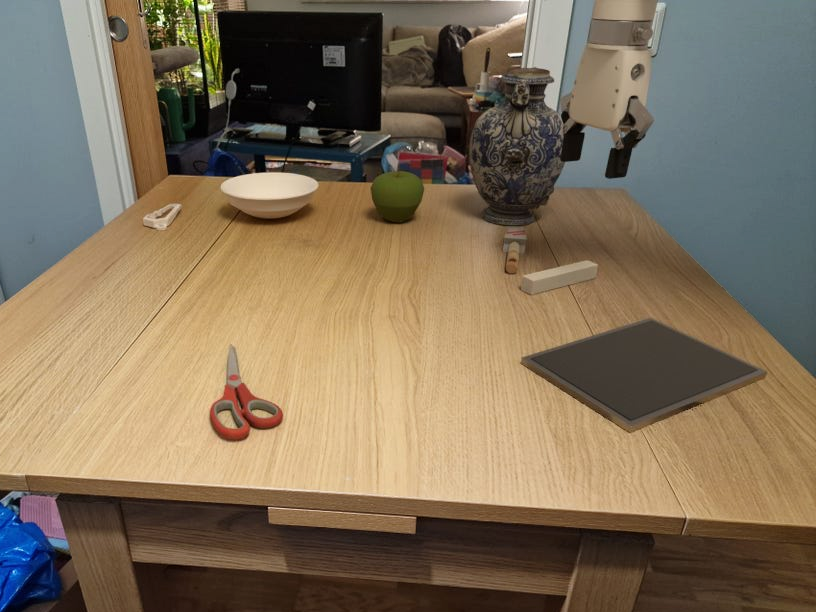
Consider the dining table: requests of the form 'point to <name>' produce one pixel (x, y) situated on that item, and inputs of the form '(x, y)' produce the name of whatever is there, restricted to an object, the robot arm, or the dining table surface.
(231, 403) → the scissors
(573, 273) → the beige rectangular block
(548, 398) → the dining table surface
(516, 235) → the paintbrush
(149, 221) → the stepped key frame
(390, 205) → the apple
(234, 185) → the bowl
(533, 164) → the decorative vase
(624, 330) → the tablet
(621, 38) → the robot arm
